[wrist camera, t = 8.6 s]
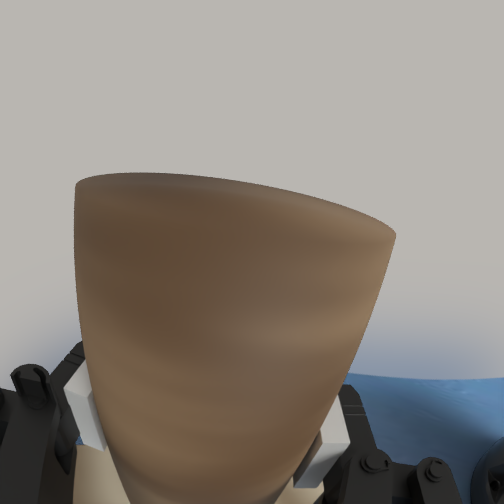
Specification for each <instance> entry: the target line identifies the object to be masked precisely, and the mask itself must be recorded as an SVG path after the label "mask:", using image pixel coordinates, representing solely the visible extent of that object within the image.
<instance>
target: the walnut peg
mask: <svg viewBox="0 0 504 504" xmlns="http://www.w3.org/2000/svg"><path fill="white" fill-rule="evenodd" d="M395 239H396V233H395V232H394V230H392V229H391V228H390V227H389V226H388V225H386V224H384V223H383V222H381V221H379V220H377V219H375V218H373V217H371V216H368V215H366V214H364V213H361V212H359V211H356V210H353V209H350V208H347V207H345V206H342V205H339V204H336V203H333V202H329V201H326V200H323V199H319V198H316V197H312V196H308V195H304V194H300V193H296V192H292V191H288V190H283V189H279V188H274V187H269V186H263V185H259V184H253V183H247V182H240V181H235V180H228V179H221V178H213V177H204V176H194V175H183V174H168V173H116V174H105V175H98V176H92V177H88V178H85V179H83V180H80V181H79V182H78V183H77V184H76V187H75V203H74V258H75V277H76V291H77V302H78V311H79V320H80V326H81V327H80V328H81V334H82V341H83V347H84V353H85V359H86V364H87V369H88V374H89V379H90V383H91V388H92V392H93V396H94V400H95V404H96V408H97V412H98V416H99V419H100V423H101V426H102V429H103V433H104V436H105V439H106V442H107V445H108V448H109V451H110V454H111V457H112V460H113V463H114V465H115V468H116V471H117V473H118V476H119V478H120V481H121V483H122V486H123V488H124V491H125V493H126V495H127V498H128V500H129V502H130V504H274V503H275V502H276V501H277V499H278V498H279V496H280V495H281V493H282V492H283V490H284V489H285V487H286V486H287V484H288V483H289V481H290V479H291V478H292V476H293V475H294V473H295V471H296V470H297V468H298V467H299V465H300V463H301V462H302V460H303V458H304V457H305V455H306V453H307V451H308V450H309V448H310V446H311V444H312V443H313V441H314V439H315V437H316V435H317V434H318V432H319V430H320V428H321V426H322V424H323V422H324V421H325V419H326V417H327V415H328V413H329V411H330V409H331V407H332V405H333V403H334V401H335V399H336V397H337V395H338V393H339V390H340V388H341V386H342V384H343V382H344V380H345V378H346V375H347V373H348V371H349V368H350V366H351V364H352V362H353V359H354V357H355V355H356V352H357V350H358V347H359V345H360V343H361V340H362V338H363V335H364V332H365V330H366V327H367V325H368V322H369V319H370V317H371V314H372V311H373V308H374V306H375V303H376V300H377V297H378V294H379V291H380V288H381V285H382V282H383V279H384V276H385V273H386V269H387V266H388V263H389V260H390V256H391V253H392V249H393V246H394V242H395Z"/></svg>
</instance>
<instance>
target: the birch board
mask: <svg viewBox="0 0 504 504" xmlns="http://www.w3.org/2000/svg"><path fill="white" fill-rule="evenodd" d="M76 446H77V459H76V468H75V478H74V491H73V504H130V502H129V500H128V498H127V495H126V493H125V491H124V488H123V486H122V483H121V481H120V478H119V476H118V473H117V471H116V468H115V465H114V463H113V460H112V457H111V454H110V451H109V448H108V445H107V447H106V449H105V451H104V452H103V451H100V450H98V449H95V448H93V447H90V446H88V445H76ZM323 492H324V486H323V481H322V482H321V483H320V485H319V486H318V487H317V488H293V476H292V478H291V479H290V481H289V483H288V484H287V486H286V487H285V489H284V490H283V492H282V493H281V495H280V496H279V498H278V499H277V501H276V502H275V503H274V504H313V503H314V502H315V501H316V499H317V498H318V497H319V496H320V495H321V494H322V493H323Z"/></svg>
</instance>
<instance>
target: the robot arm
mask: <svg viewBox="0 0 504 504" xmlns="http://www.w3.org/2000/svg"><path fill="white" fill-rule="evenodd" d="M10 376H11V379H12V381H13V383H14V386H15V388H16V391H17V392H15V391H11V390H6V389H2V388H0V504H73V491H74V478H75V468H76V459H77V446H76V444H75V442H76V440H77V439H78V437H79V435H80V436H81V439H82V441H83V443H84V444H86V445H88V446H90V447H93V448H95V449H98V450H100V451H103V452H104V451H105V449H106V447H107V442H106V439H105V436H104V433H103V429H102V426H101V423H100V419H99V416H98V412H97V408H96V404H95V400H94V396H93V392H92V388H91V383H90V379H89V374H88V369H87V364H86V359H85V353H84V347H83V341H81V342H79V343H77V344H76V345H75V347H74V348H73V349H72V350H71V351H70V354H68V355H67V356H66V357H65V358H64V361H61V363H60V364H59V365H58V366H57V367H56V369H55V370H54V371H53V372H52V373H51V375H49V373H48V371H47V370H46V369H44V368H43V367H42V366H39V365H36V364H26V365H22V366H19V367H18V368H16V369H15V370H14V371H13V372H12V373H11V375H10ZM365 414H366V413H365V411H364V408H363V407H362V402H361V399H360V396H359V394H358V393H357V392H356V390H355V389H354V388H353V387H352V386H351V385H344V384H342V386H341V388H340V390H339V393H338V395H337V397H336V399H335V401H334V403H333V405H332V407H331V409H330V411H329V413H328V415H327V417H326V419H325V421H324V422H323V424H322V426H321V428H320V430H319V432H318V434H317V435H316V437H315V439H314V441H313V443H312V444H311V446H310V448H309V450H308V451H307V453H306V455H305V457H304V458H303V460H302V462H301V463H300V465H299V467H298V468H297V470H296V471H295V473H294V475H293V488H317V487H318V486H319V485H320V483H321V482H322V481H323V486H324V492H323V493H322V494H321V495H320V496H319V497H318V498H317V499H316V501H315V502H314V503H313V504H462V501H461V498H460V495H459V492H458V489H457V486H456V483H455V481H454V478H453V475H452V473H451V470H450V468H449V467H448V465H447V464H446V463H445V462H444V461H443V460H441V459H438V458H435V457H428V458H426V459H423V460H422V461H421V462H420V463H419V464H418V465H417V466H413V465H406V464H399V463H395V462H392V460H391V459H390V457H389V456H388V455H387V454H386V453H385V452H383V451H382V450H379V449H377V447H376V444H375V441H374V438H373V435H372V431H371V428H370V425H369V422H368V419H367V416H365ZM471 500H472V504H504V437H502V438H501V439H500V440H498V441H497V442H496V443H495V444H494V445H493V446H492V447H491V448H490V449H489V450H488V451H487V453H486V454H485V455H484V456H483V457H482V458H481V459H480V461H479V462H478V464H477V466H476V468H475V470H474V473H473V477H472V482H471Z"/></svg>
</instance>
